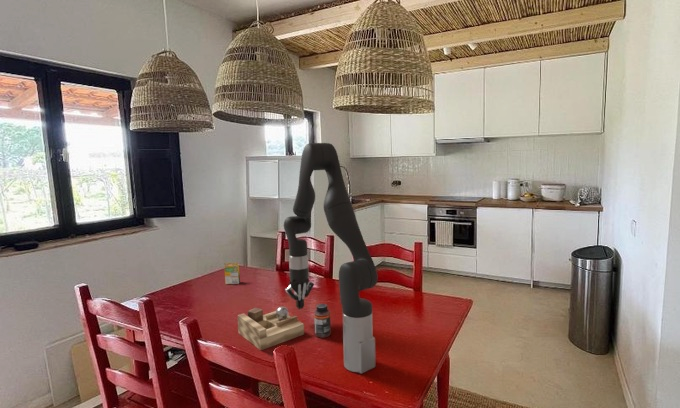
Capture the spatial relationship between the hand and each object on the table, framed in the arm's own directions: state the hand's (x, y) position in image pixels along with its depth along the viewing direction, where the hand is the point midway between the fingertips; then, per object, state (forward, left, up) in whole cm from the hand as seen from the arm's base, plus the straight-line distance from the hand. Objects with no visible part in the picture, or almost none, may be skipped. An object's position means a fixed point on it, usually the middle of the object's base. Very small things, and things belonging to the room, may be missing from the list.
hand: (300, 308), depth 146 cm
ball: (0, +9, 0) cm, 9 cm away
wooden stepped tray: (0, +14, -6) cm, 15 cm away
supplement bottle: (-14, 0, -6) cm, 16 cm away
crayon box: (+68, 0, -6) cm, 68 cm away
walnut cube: (+6, +17, -2) cm, 18 cm away
